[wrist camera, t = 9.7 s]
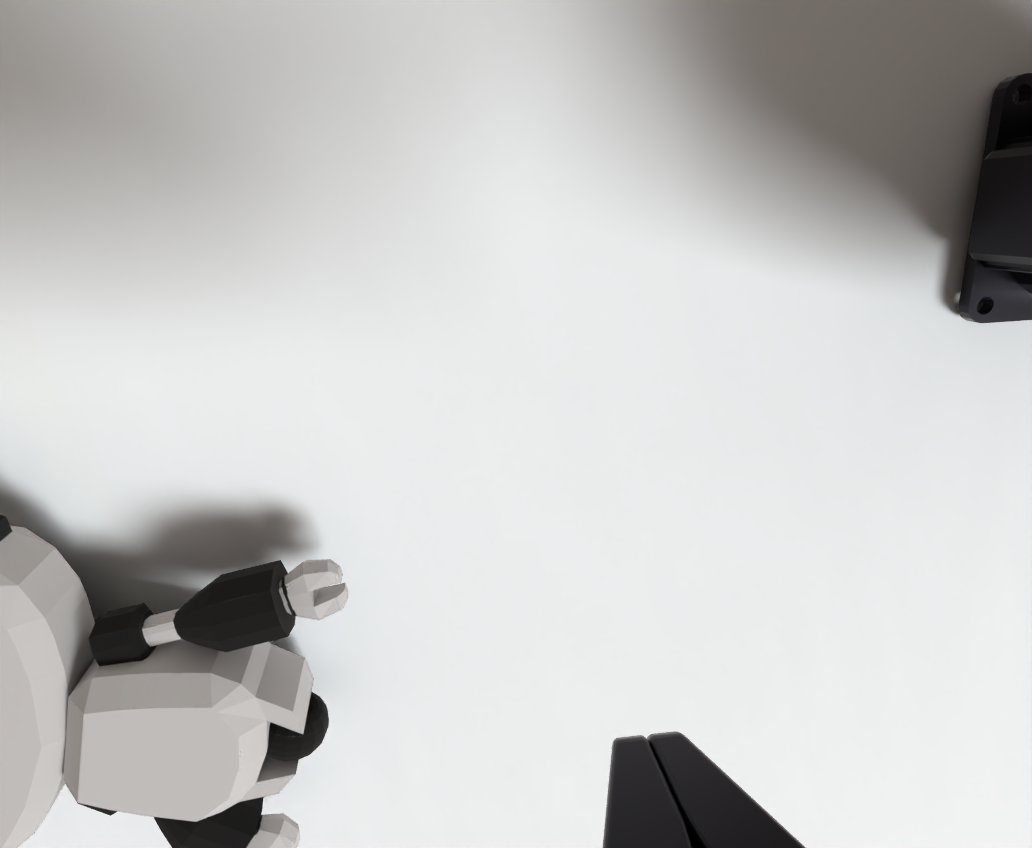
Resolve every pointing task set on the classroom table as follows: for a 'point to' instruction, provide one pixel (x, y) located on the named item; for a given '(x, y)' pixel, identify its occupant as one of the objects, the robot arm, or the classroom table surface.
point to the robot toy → (156, 699)
